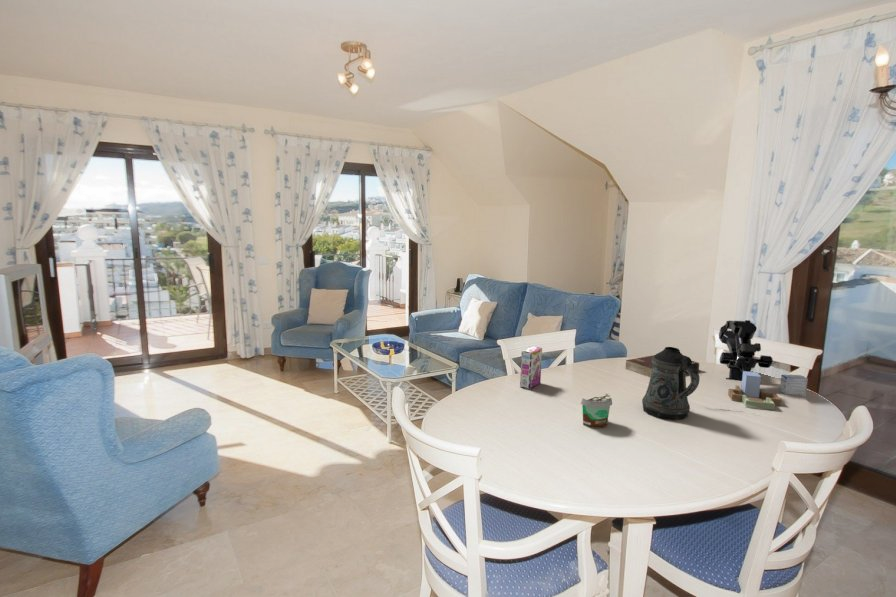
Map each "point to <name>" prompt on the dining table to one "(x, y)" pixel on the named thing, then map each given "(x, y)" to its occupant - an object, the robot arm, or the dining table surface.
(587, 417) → the food container
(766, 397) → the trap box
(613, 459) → the dining table surface
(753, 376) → the block
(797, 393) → the medicine box
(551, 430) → the dining table surface
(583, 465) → the dining table surface
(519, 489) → the dining table surface
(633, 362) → the hardback book
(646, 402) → the beer stein
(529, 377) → the candy bar box
